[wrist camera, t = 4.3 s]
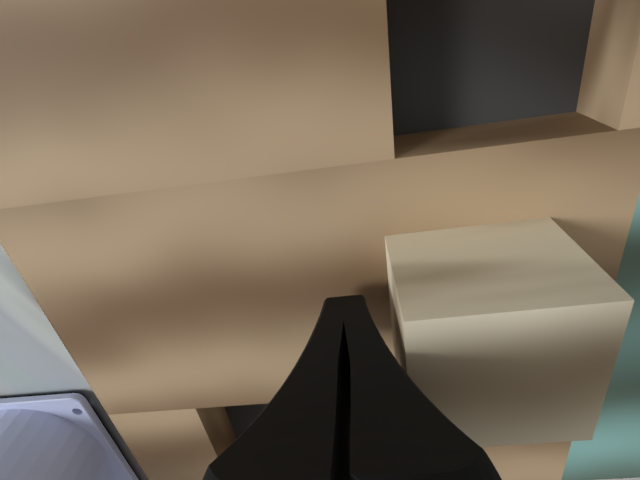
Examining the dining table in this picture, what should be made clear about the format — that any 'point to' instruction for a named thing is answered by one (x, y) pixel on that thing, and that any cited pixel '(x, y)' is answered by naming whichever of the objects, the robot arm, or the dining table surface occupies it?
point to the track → (300, 186)
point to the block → (506, 328)
